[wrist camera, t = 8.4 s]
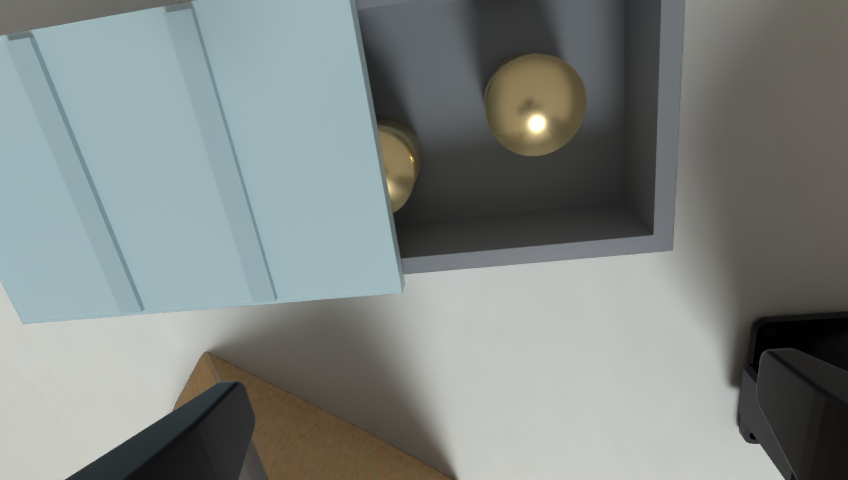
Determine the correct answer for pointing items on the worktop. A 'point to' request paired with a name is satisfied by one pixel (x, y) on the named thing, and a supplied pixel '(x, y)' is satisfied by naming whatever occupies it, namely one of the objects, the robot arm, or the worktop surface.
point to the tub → (518, 174)
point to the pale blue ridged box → (192, 162)
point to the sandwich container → (304, 436)
